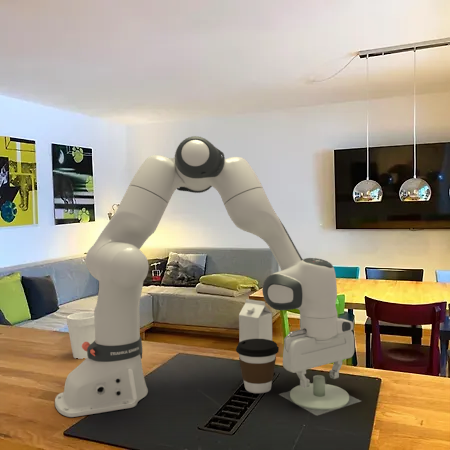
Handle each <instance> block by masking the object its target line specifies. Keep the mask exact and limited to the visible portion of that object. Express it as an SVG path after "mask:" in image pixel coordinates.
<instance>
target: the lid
mask: <svg viewBox="0 0 450 450" xmlns="http://www.w3.org/2000/svg"><path fill="white" fill-rule="evenodd" d="M309 384H310V386H309V387H306V388H303V387H301V385H300V384H299V385H296V386H295V387H293V388H292V389H291V390H289V391H290V398H291V400H292V401H293V402H294V403H293V402H292V403H293V404H294V405H296V404H297V406H298V405H299V406H298V407H300V406H302V407H305V408H308V409H314V410H333V411H335V410H334V409H337V410H339V409H338V408H340V409H342V408H341V407H343V408H345V407H344V406H345V405H347V404H348V402H349V395H350V394H349V393H348V392H347V391H346V390H345V389H343V388H341V387H339V386H337V385H333V384H327V383H326V377H325V376H324V375H321V374H317V375H316V374H315V375H313V377H312V383H311V382H310V383H309ZM302 407H301V408H302Z"/></svg>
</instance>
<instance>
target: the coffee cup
mask: <svg viewBox="0 0 450 450" xmlns="http://www.w3.org/2000/svg"><path fill="white" fill-rule="evenodd" d="M279 350H280V348H279V347H278V344H277V343H276V342H275V341H273V340H272V341H271V340H267V339H248V340H243V341H241V342H238V344H237V346H236V348H235V351H236V353H237V354H238V356H239V359H238V360H239V367H240V372H241V378H242V380H243V384H244V388H245V390H246V391H247V392H249V393H253V394H264V393H268V392H270V391H271V390H272V383H273V379H274V374H275V368H276V367H275V366H276V359H277V354H278V353H279Z"/></svg>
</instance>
